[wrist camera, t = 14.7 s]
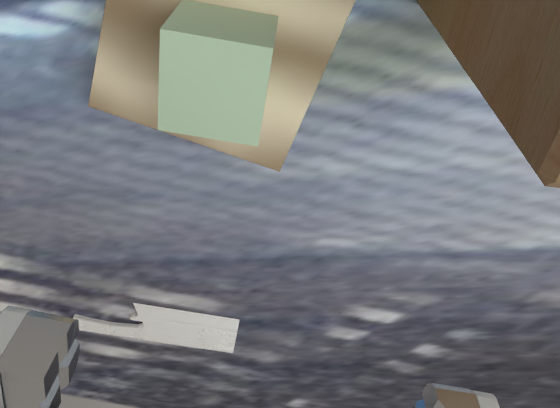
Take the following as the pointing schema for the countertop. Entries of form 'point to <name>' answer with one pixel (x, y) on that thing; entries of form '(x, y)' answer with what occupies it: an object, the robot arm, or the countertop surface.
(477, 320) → the countertop surface
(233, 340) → the white plastic strip tool
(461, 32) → the decorative block
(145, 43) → the pale maple block
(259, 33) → the sage green cube
